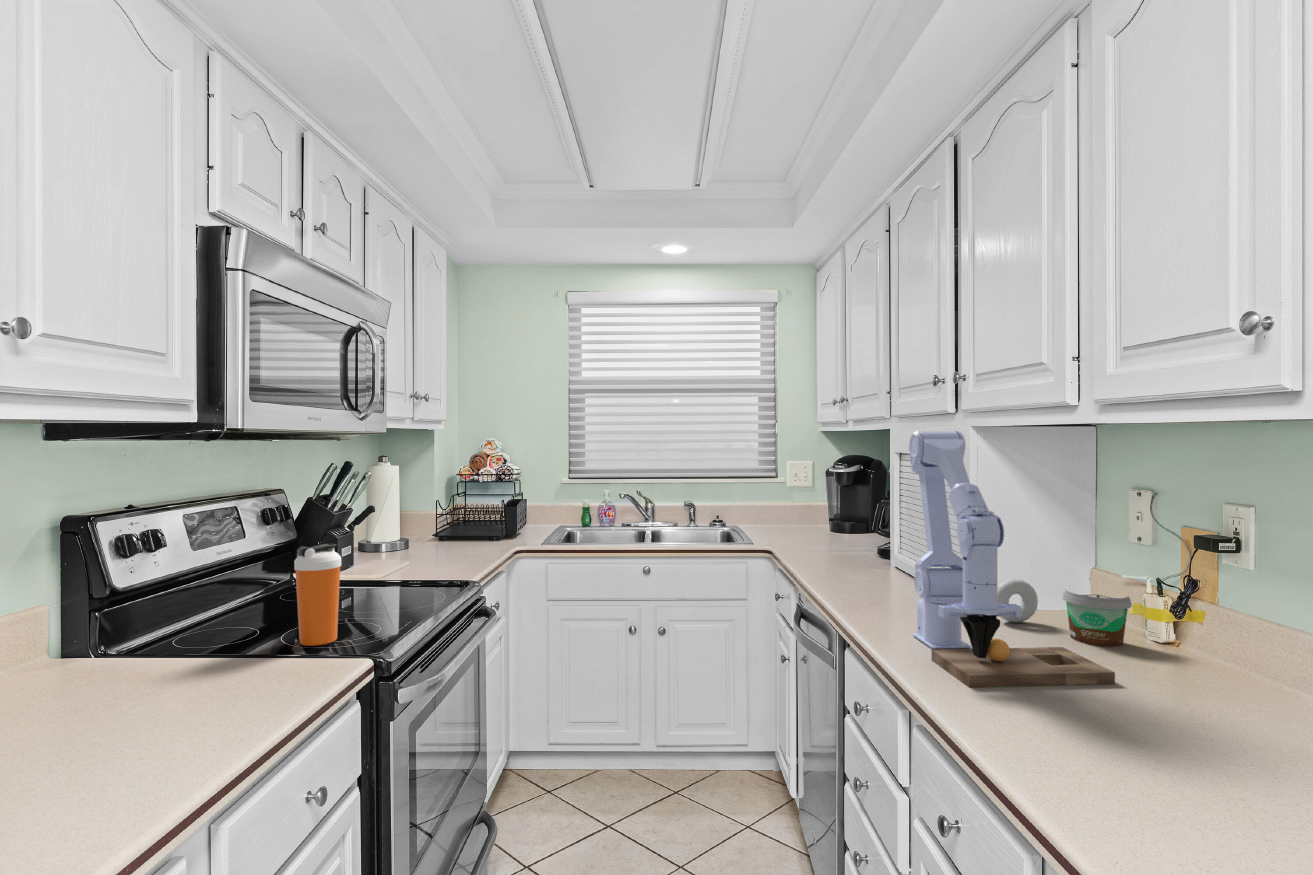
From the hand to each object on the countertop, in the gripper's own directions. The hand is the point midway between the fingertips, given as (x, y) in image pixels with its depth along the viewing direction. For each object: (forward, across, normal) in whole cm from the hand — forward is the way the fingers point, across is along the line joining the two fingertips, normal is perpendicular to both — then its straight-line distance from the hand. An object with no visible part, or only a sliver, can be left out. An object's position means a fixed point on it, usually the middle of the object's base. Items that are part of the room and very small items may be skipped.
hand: (979, 656), depth 124 cm
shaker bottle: (+3, -129, +26) cm, 131 cm away
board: (+3, +7, 0) cm, 8 cm away
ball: (-1, +3, 0) cm, 3 cm away
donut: (+3, +25, +31) cm, 40 cm away
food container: (+3, +33, +15) cm, 37 cm away
